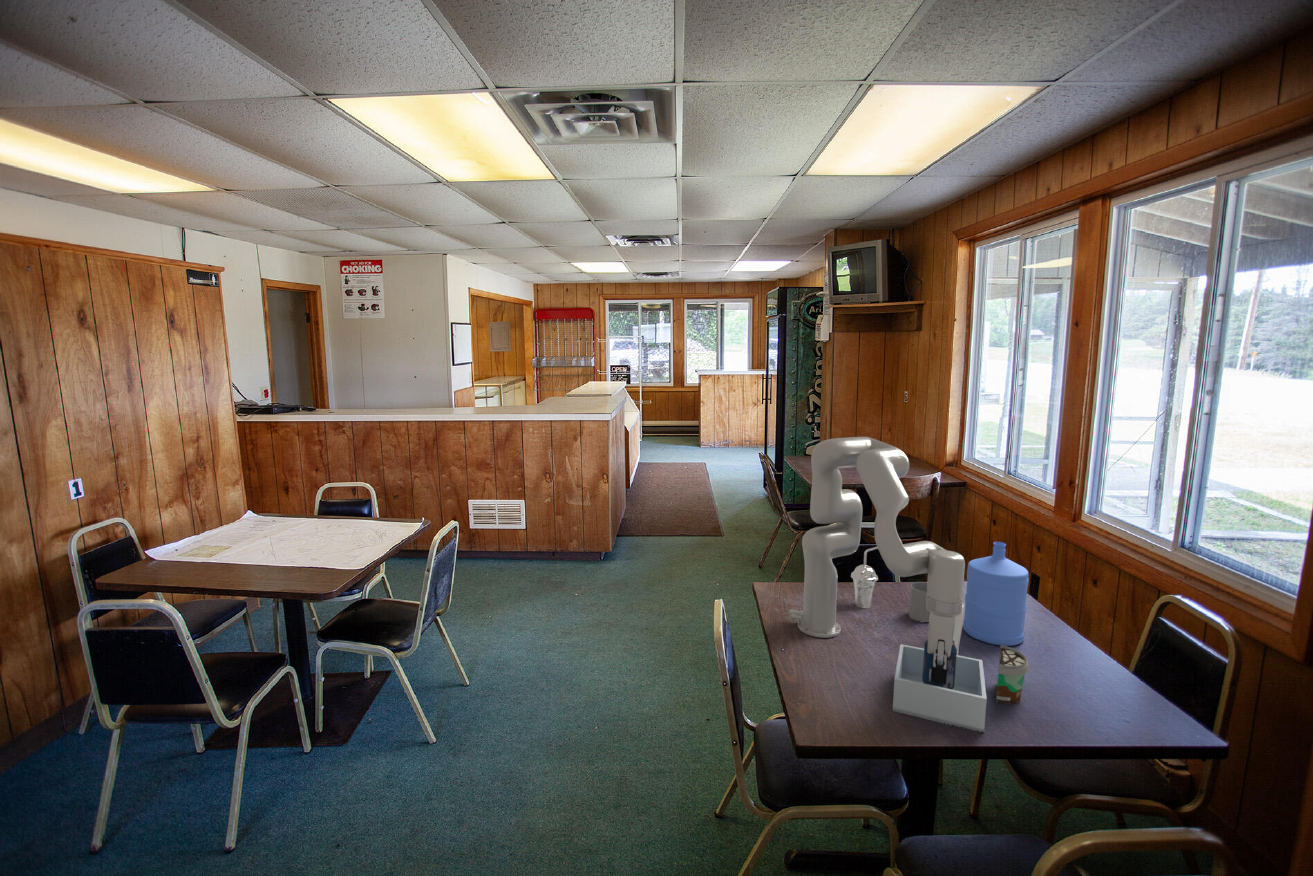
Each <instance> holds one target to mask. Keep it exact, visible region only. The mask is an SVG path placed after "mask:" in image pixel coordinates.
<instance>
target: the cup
mask: <svg viewBox="0 0 1313 876" xmlns="http://www.w3.org/2000/svg"><path fill="white" fill-rule="evenodd" d="M909 585H910V587H909V604H908V605H909V606H908V617H909V616H910V617H911V618H910V617H909V618H910V619H912V618H913V619H915V620H914V621H916V620H918V621H921V622H920V623H923V622H929V616H930V611H929V610H927V609H926V596H927V582H923V581H921V582H920V581H916V582H911V584H909ZM913 619H912V620H913ZM918 621H917V622H918Z"/></svg>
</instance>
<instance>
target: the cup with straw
mask: <svg viewBox="0 0 1313 876" xmlns="http://www.w3.org/2000/svg"><path fill="white" fill-rule="evenodd" d="M874 550H878V547H877V546H875V547H874V546H873V547H871V548H868V549H866V550H865V551H864V553H863V564H860V565H857V566H856V567H855V569H854V570H853V571H852V572H851V574H850V577H851V579H852V580H853V581H852V582H853V584H854V585H853V586H854V597H855V599H854V600H855V606H856V607H858V608H860V607H861V609H869V608H871V603H872V599H873V594H874V587H875V585H876V582H877V581H879V576H878V575H877V574H876V571H875V569H874V568H873V567H872V566H870V565H867V554H868V552H871V551H874Z"/></svg>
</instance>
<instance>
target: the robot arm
mask: <svg viewBox="0 0 1313 876" xmlns="http://www.w3.org/2000/svg"><path fill="white" fill-rule="evenodd" d="M811 452H812V453H811V457H810V458H811V460H810V461H811V472H812V475H811V476H812V477H811V479H812V480H811V491H810V505H809V507H810V508H809V513H810V517H811V520H813V522H815V523H816V524H820V525H823V526H816V527H813V528H810V529H809V530H808V529H807V531H805V533H804V534H803V536H802V540H801V545H802V552H803V553H802V554H803V559H804V578H803V579H804V582H803V584H804V585H803V610H802V609H801V610H796V609H789V612H788V614H789V615H788V616H790V617H791V619H792V620H797V628H798V629H799V631H800V632H802V633H803V634H805V635H808V636H810V637H813V638H814V637H815V638H821V639H823V638H824V639H825V638H832V637H837V636H839V635H840V634H841V630H842V628H841V625H840V623H838V622H837V619H836V618H837V600H838V599H837V598H838V597H837V596H838V570H837V568H836V566H835V564H834V563H833V559H836V558H839V557H845V556H849V555H853V554H854V553H855V552H857V550H858V549H859V546H860V541H861V531H862V523H863V521H862V520H863V510H864V509H863V504H862V500H861V497H860V496H859V494H858V493H856V492H855V491H854V490H852V489H848V488H847V489H846V488H845V489H843V477H842V474H841V471H840V469H846V468H856V471H857V473H858V475H859V478H860V480H861V481H862V484H863V486H864V488H865V490H866V492H867V494H868V496H869V499H870V500H871V503H872V504H873V506H874V509H875V510H876V516H875V518H874V519H875V520H874V528H873V529H874V532H873V533H874V542H875V545H876V547H878V549H877V550H878V551H879V553H880V556H881V558H882V559H883V561H884V562H883V563H884V564H885V566H886V567H887V568H888V569H889V571H890V572H891V573H893V574H894V575H895V576H897V577H901V578H907V577H913V576H917V575H921V574H924V575H925V574H927V582H926V583H927V596H926V609H927V610H929V611H930V616H929V623H928V631H927V632H928V633H927V639H928V645H927V652H928V653H929V654H930V653H931V654H933V653H934V659H933V665H932V671H931V682H934V683H938V684H943V685H946V678H947V668H946V662H947V657H950V654H951V648H952V642H953V634H954V624H955V616H959V615H960V614H961V609H962V603H963V594H964V585H965V584H964V582H965V570H966V569H965V568H966V561H965V558H964V556H963V555H961V554H960V553H959V552H956V551H952V550H947V549H945V548H944V547H942V546H940V545H938V544H936V543H935V542H933V541H929V540H920V541H916V542H909V543H904V544H903V541H902V540H901V538H900V536H899V533H898V531H897V530H898V529H897V526H896V523H897V517H898V514H900V512H901V511H902V510H903V509H905V508H906V506H908V504H909V503H910V502H909V501H910V498H909V495H908V493H907V491H906V490H905V487H904V486H903V484H902V482H901V480H900V479H901V478H904V477H905V476H906V475H907V474H908V472H909V470H910V461H909V458H908V457H907V455H906V454H905V451H903V450H901V449H900V448H898V447H896V446H894V445H891V444H889V443H886V442H884V441H880V440H878V439H876V438H872V437H870V436H851V437H835V438H829V439H824V440H822V441H820V442H818V443H817V444H816V445H815V447H813V450H812V451H811ZM830 524H831V525H830ZM944 641H945V642H944ZM936 650H938V653H936ZM944 652H945V655H944ZM936 656H938V657H937V659H936ZM943 657H944V661H943Z"/></svg>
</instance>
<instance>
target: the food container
mask: <svg viewBox="0 0 1313 876" xmlns="http://www.w3.org/2000/svg"><path fill="white" fill-rule="evenodd" d="M1029 671H1030V667H1029V661H1028V659H1027V656H1026V655H1025V654H1024V653H1022V652H1021V651H1019V650H1017V649H1016V648H1013V647H1011V646H1010V647H1009V646H1004V645H1001V646H1000V650H999V662H998V672H997V673H998V674H997V683H996V684H997V685H996V686H997V687H996V698H995V702H996V701H998V702H997V703H999V702H1001V703H1000V704H1006V703H1012V704H1016V702H1017V703H1018V701H1019V702H1020V701H1021V699H1020V698H1022V693H1023V687H1024V680H1025V675H1026V674H1028V672H1029Z"/></svg>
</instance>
